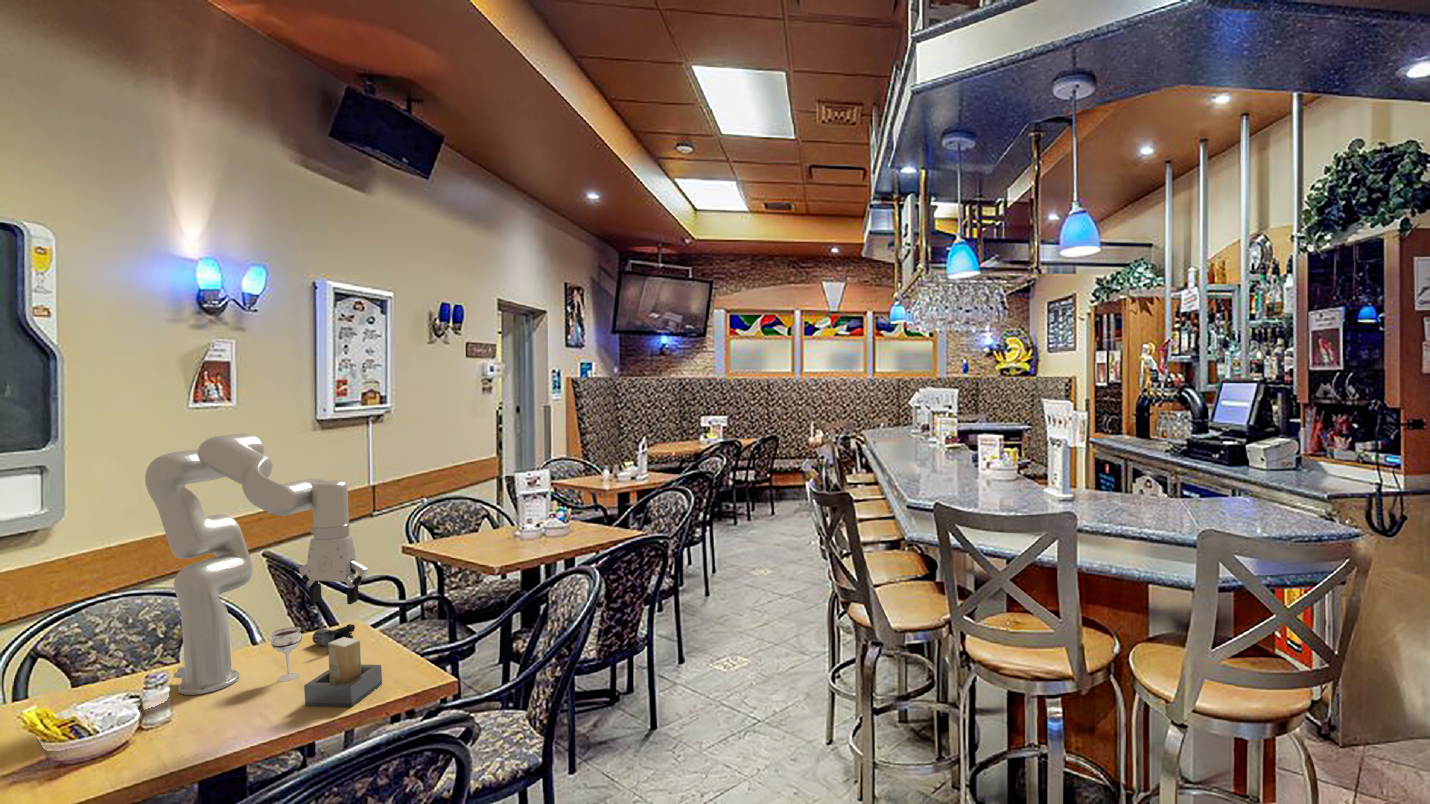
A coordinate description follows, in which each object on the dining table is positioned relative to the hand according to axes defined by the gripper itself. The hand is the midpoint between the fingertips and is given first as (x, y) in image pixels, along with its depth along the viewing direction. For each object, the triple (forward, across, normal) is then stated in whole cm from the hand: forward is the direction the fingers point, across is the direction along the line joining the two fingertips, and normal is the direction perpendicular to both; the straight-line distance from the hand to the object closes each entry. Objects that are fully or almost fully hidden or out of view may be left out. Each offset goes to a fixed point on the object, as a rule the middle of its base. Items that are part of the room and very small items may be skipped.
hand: (334, 602), depth 166 cm
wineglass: (+23, -20, +8) cm, 31 cm away
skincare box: (+22, +3, -1) cm, 22 cm away
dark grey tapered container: (+24, -23, +28) cm, 43 cm away
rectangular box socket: (+22, +2, -1) cm, 23 cm away
